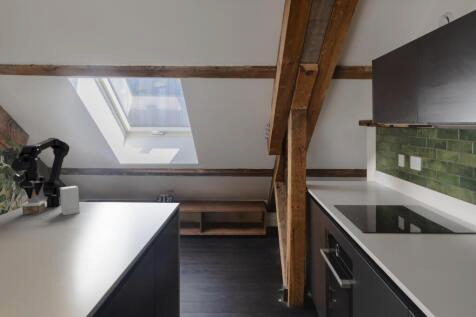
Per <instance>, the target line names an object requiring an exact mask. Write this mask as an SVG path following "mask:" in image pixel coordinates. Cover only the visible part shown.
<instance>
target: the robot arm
mask: <svg viewBox="0 0 476 317" xmlns="http://www.w3.org/2000/svg"><path fill="white" fill-rule="evenodd" d="M48 148H51V149H52V153H53V156H54V158H53V162H52V165H51V171H50V174H49V177H48V180H46V177H45V176H43V175H39V173H40V169H39V163H38V162H39V161H40V160H41V157H40V156H39V155H40V154H42V151H44V150H47V149H48ZM69 152H70V145H69V144H68V143H66V142H65V141H62V140H61V139H59V138H57V137H49V138H47V139H44V140H42V141H39V142H38V143H33V144H27V145H23V146H22V149H21V150H20V152H19V154H18V157H14V160H13V161H12V162H11V165H10V166H11V168H12V169H13V171H15V172H19V171H20V172H21V171H23V174H18V173H17V174H15V175H13V177H12V181H13V182H15V183H18V187H19V188H21V189H23V190H24V191H25V194H26V195H27V199H28V198H29V199H31V198H33V194H34V193H35V196H39V193H40V192H41V191H42V192H43V196H44V197H45V198H46V208H60V207H61V196H60V188H61V184H60V182H59V180H60V177H61V176H60V175H61V172H62V167H63V163H64V159H65V158H66V156H68V154H69ZM41 189H42V190H41Z"/></svg>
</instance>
